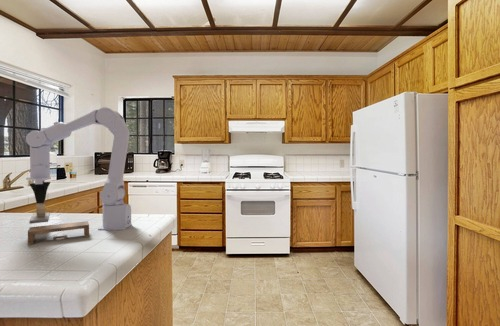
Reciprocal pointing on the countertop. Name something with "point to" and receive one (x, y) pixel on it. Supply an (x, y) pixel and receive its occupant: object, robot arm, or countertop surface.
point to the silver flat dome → (60, 237)
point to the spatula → (40, 214)
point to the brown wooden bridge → (57, 229)
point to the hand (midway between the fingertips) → (40, 202)
